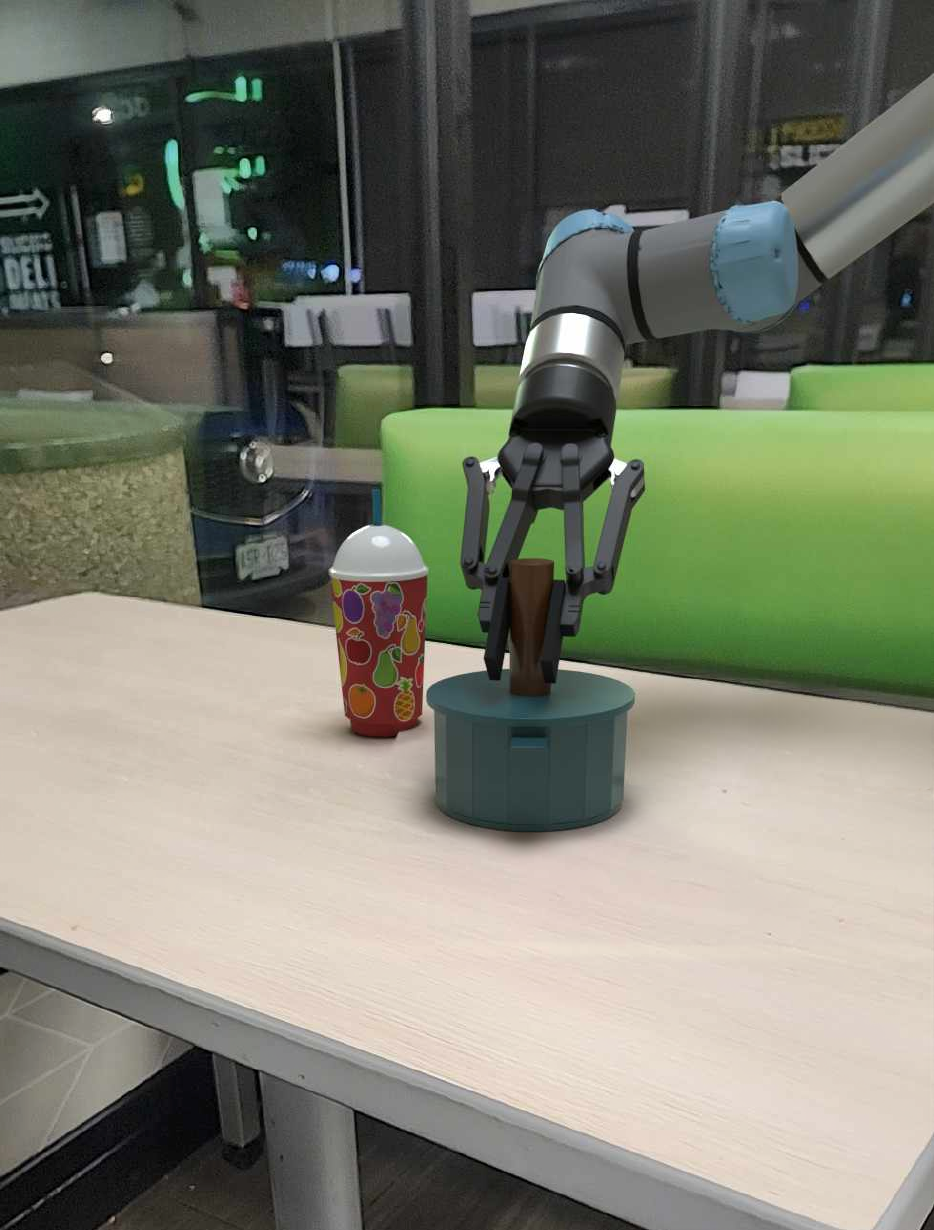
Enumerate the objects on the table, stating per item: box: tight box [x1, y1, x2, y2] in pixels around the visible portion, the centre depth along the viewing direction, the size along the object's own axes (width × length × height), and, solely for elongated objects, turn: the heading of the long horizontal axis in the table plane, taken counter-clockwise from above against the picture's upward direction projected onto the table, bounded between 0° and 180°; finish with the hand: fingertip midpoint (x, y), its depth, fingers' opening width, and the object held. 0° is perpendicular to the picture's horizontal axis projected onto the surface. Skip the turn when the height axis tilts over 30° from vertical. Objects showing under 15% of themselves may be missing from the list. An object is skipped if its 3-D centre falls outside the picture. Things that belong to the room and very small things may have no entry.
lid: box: [425, 557, 636, 727], centre depth 88 cm, size 15×15×10 cm
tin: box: [433, 710, 628, 833], centre depth 91 cm, size 14×19×8 cm
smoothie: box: [327, 489, 430, 738], centre depth 107 cm, size 8×8×20 cm
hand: (520, 670), depth 85 cm, fingers open, 3 cm apart
